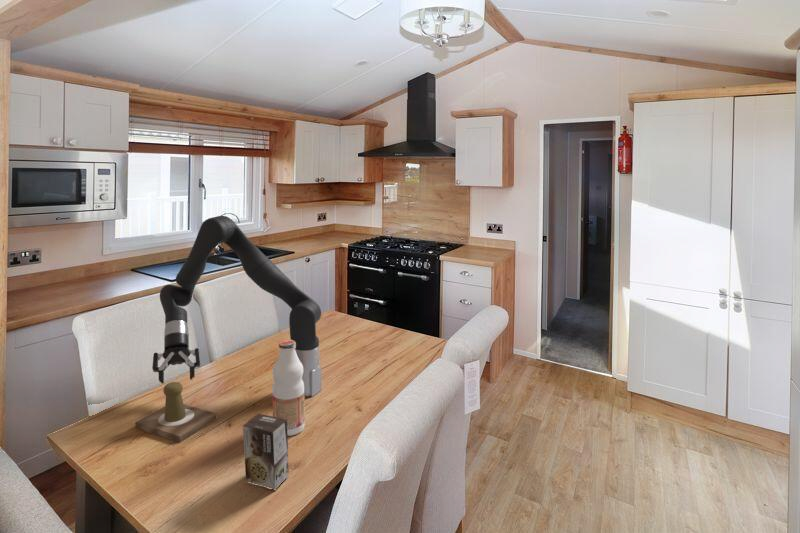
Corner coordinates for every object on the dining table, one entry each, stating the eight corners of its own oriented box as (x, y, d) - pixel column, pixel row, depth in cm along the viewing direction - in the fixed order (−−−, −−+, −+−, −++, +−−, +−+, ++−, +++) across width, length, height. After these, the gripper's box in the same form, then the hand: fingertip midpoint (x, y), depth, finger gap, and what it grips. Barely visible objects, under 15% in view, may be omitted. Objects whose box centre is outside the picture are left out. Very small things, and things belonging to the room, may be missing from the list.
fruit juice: (284, 440, 131) (282, 350, 126) (267, 428, 138) (264, 342, 132) (311, 428, 138) (310, 342, 133) (293, 417, 144) (292, 334, 139)
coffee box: (289, 476, 116) (288, 419, 113) (275, 492, 110) (273, 432, 107) (260, 467, 119) (258, 412, 116) (244, 482, 113) (241, 424, 110)
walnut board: (216, 419, 142) (216, 412, 142) (180, 442, 129) (179, 435, 129) (174, 407, 148) (173, 400, 148) (135, 428, 136) (135, 421, 135)
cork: (189, 412, 141) (187, 380, 139) (178, 422, 135) (176, 389, 133) (171, 411, 142) (169, 378, 140) (159, 421, 136) (157, 387, 134)
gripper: (151, 333, 150) (151, 379, 142) (198, 329, 156) (200, 373, 147) (154, 343, 156) (154, 388, 148) (199, 338, 161) (201, 381, 153)
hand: (177, 380), depth 148 cm, fingers open, 8 cm apart
